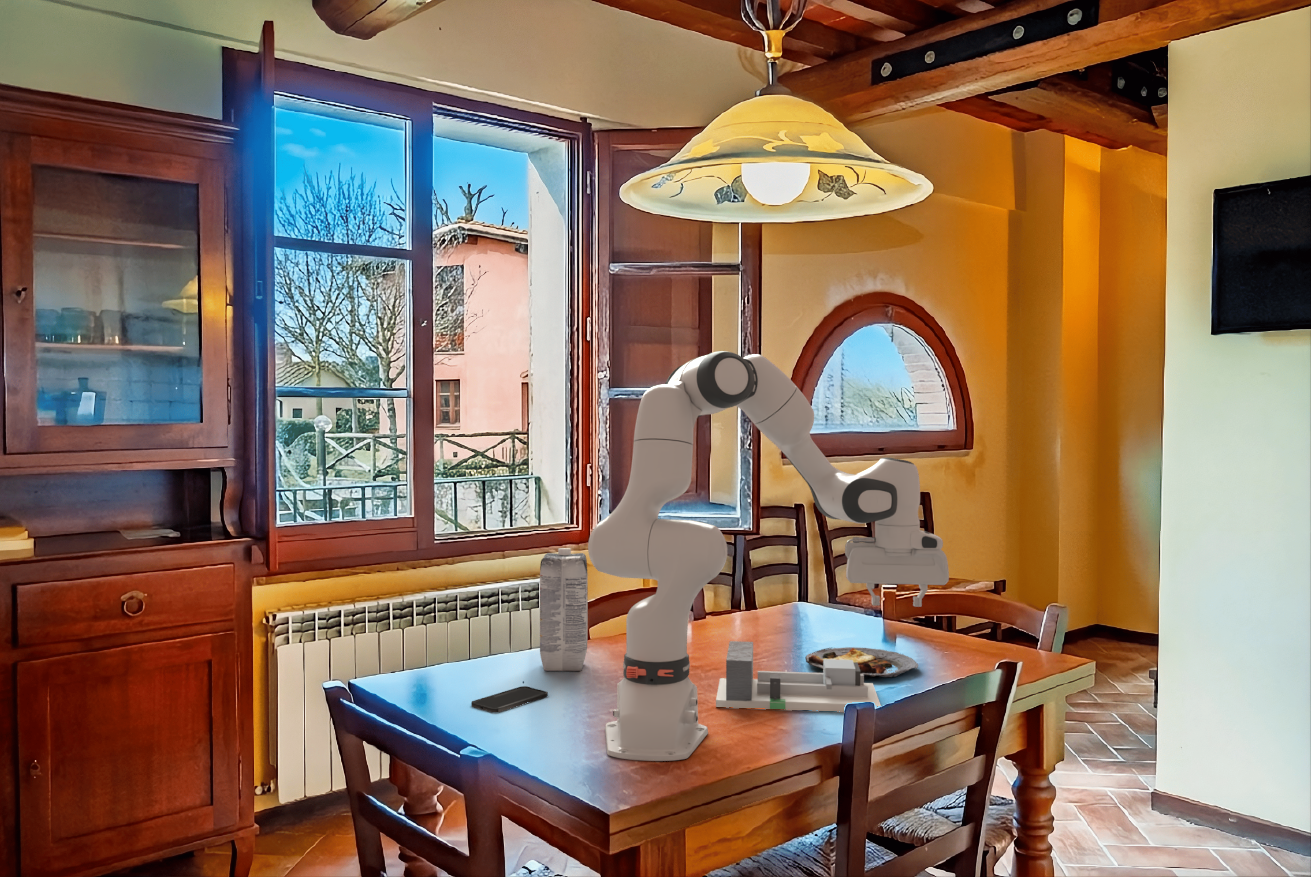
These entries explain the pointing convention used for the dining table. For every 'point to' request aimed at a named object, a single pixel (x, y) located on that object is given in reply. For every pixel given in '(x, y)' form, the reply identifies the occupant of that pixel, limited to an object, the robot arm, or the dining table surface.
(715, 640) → the dining table surface
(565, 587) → the juice carton
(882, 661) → the food plate
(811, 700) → the base
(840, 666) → the block
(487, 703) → the phone
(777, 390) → the robot arm
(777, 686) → the block
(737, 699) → the grey rectangular block
